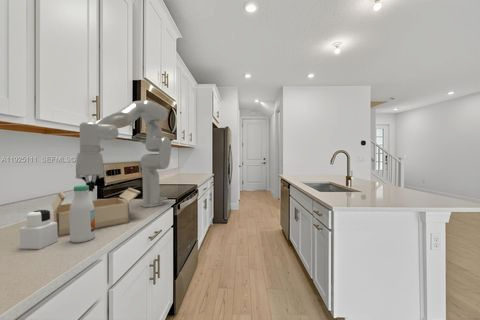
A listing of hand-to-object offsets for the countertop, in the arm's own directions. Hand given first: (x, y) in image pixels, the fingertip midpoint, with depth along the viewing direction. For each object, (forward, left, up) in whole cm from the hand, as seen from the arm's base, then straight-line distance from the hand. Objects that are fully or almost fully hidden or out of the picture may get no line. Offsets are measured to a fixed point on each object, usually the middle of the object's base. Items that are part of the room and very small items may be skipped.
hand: (90, 190), depth 101 cm
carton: (0, 0, -15) cm, 15 cm away
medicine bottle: (+18, +15, -15) cm, 28 cm away
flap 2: (-14, 0, -6) cm, 15 cm away
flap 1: (+13, 0, -6) cm, 14 cm away
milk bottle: (+6, +19, -15) cm, 25 cm away
